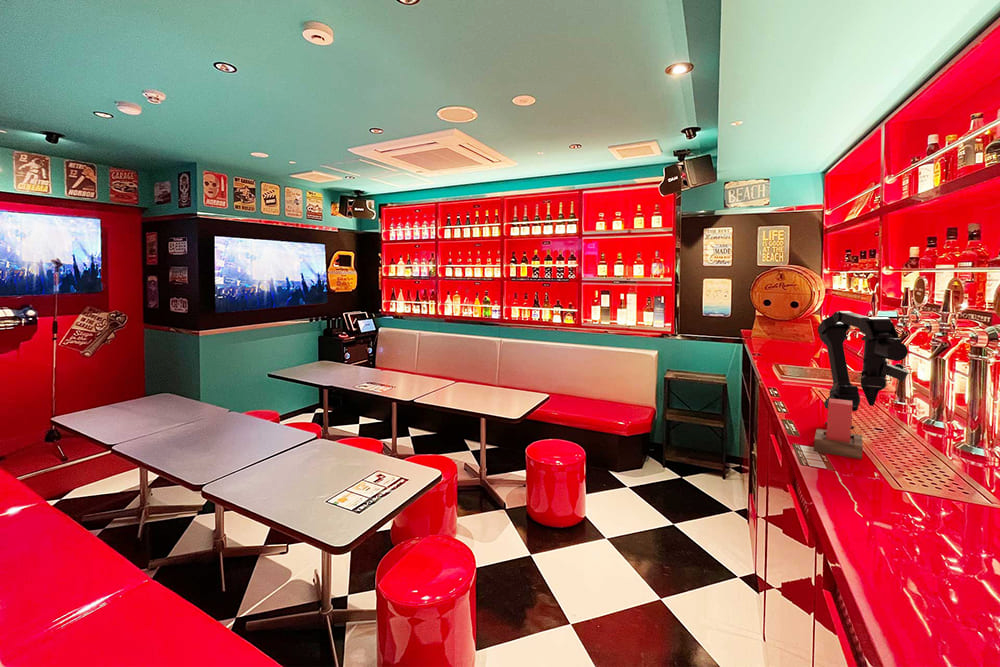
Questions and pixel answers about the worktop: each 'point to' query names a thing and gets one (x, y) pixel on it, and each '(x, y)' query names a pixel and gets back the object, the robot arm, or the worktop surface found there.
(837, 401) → the red brick
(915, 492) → the worktop surface
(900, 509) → the worktop surface
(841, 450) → the walnut base
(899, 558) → the worktop surface
